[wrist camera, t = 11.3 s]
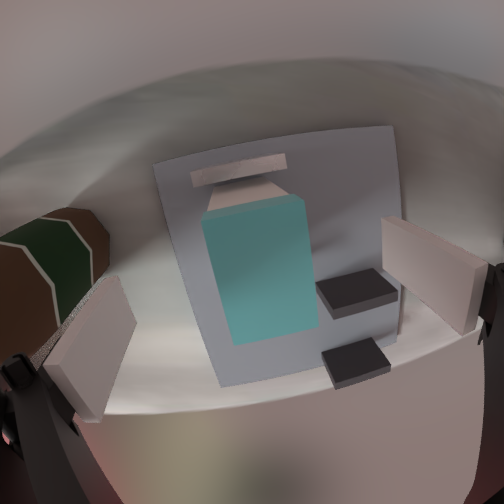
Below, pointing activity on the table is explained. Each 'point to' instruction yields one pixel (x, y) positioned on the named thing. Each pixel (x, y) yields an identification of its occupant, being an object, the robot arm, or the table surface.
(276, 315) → the white and teal box
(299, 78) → the table surface
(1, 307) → the beer bottle
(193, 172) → the port
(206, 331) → the panel
